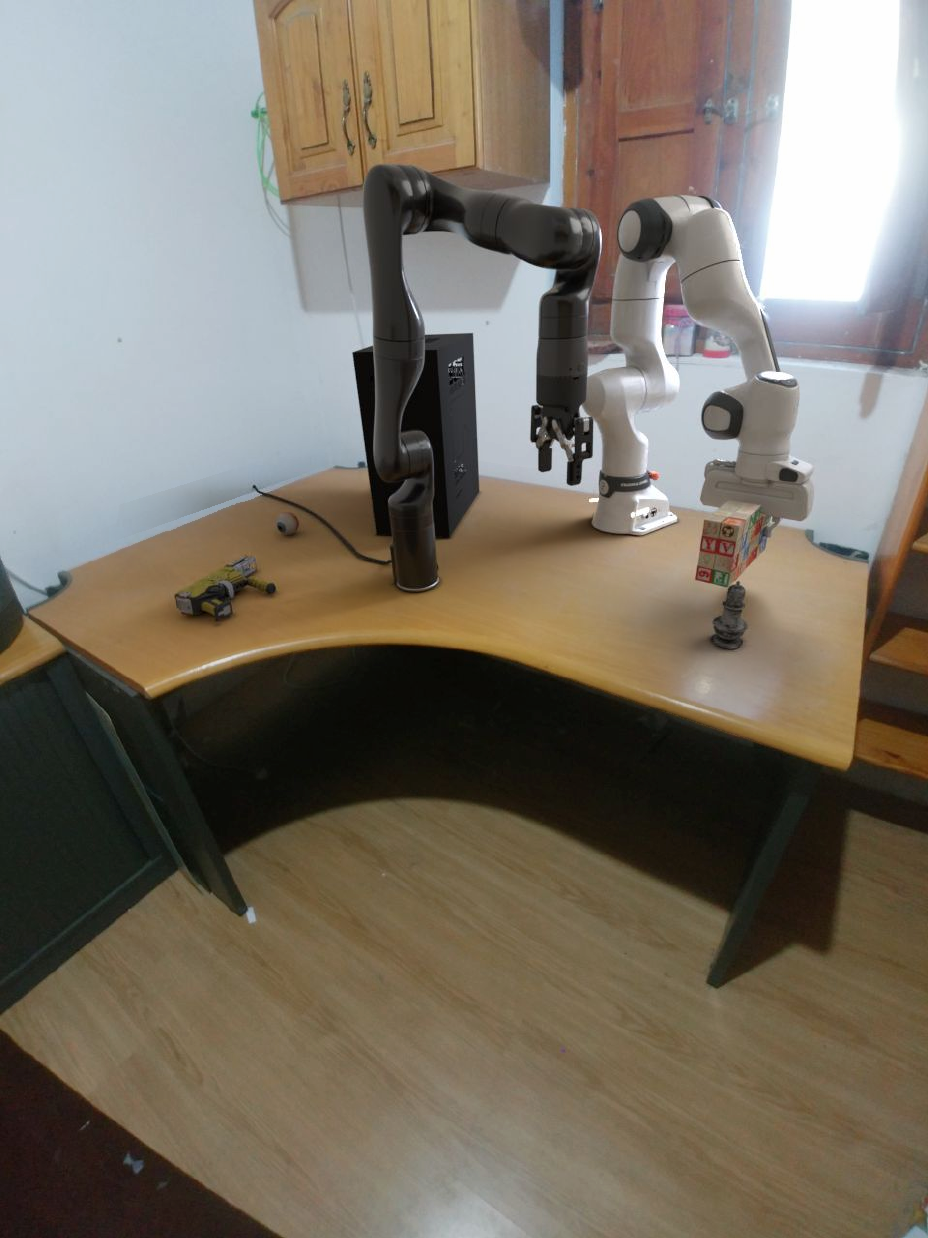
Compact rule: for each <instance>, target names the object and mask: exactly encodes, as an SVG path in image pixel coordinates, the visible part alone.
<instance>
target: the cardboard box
mask: <svg viewBox="0 0 928 1238" xmlns="http://www.w3.org/2000/svg"><path fill="white" fill-rule="evenodd" d="M351 354H352V361H353V367H354V376H355V384H356V391H357V399H358V406H359V407H358V408H359V415H360V421H361V428H362V436H363V444H364V452H365V458H366V459H365V461H366V466H367V474H368V481H369V489H370V496H371V503H372V504H371V505H372V511H373V518H374V519H373V520H374V527H375V535H376V536H392V533H391V525H390V516H389V508H388V500H389V498H390V496H391V495H392V494H394V493H395V492H396V491H397V490H398V489H399V488H400V487H401V486H402V485H403V483H404V482H405V480H403V481H399V482H395V483H387V482H385V481H383V480H382V479H381V478H380V476H379V475H378V472H377V470H376V466H375V462H374V451H373V444H374V424H375V369H374V355H373V345H370V346H367V347H364V348H361V349H358V350H355V351H352V352H351ZM475 371H476V370H475V346H474V333H473V332H462V333H434V334H433V333H432V334H425V360H424V366H423V370H422V373H421V375H420V378H419V380H418V382H417V384H416V386H415V388H414V390H413V392H412V394H411V396H410V398H409V400H408V402H407V404H406V406H405V409H404V412H403V416H402V422H401V432H403V431H407V430H412V429H418V430H421V431H422V432H424V433H425V434H426V436H427V437H428V439H429V441H430V444H431V447H432V452H433V464H434V498H433V501H432V506H433V518H434V530H435V538H446V539H447V538H448V539H450V538H451V536H452V535H453V533H454V532H455V530H456V528H457V527H458V525H459V524H460V523H461V521H462V520H463V518H464V516H465V514H466V513H467V512H468V510H469V508H470V507H471V505H472V504H473V502H474V501H475V499H476V498H477V496H478V494H479V493H480V474H479V471H480V470H479V450H478V449H479V445H478V424H477V423H478V422H477V421H478V419H477V398H476V397H477V396H476V374H475V373H476V372H475Z"/></svg>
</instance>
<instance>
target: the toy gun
mask: <svg viewBox="0 0 928 1238" xmlns="http://www.w3.org/2000/svg"><path fill="white" fill-rule="evenodd" d="M254 563H255V567H252V566H251V565H252V564H254ZM256 571H258V564H257V559H256V557H255V556H253V555H250V556H249V555H248V554H244V555H243V556H241V557H240V558H238V559H236V560H234V561H232V562H231V563H229V564H227V563H226V564H225V565H224V566H222V567H220V568H218V569H216V570H214V571H213V572H211V573H210V574H208V575H206V576H204V577H202V578H200V579H199V580H197V581H194V582H193V583H191V584H190V585H188V586H186V587H184V588H183V589H180V590H179V591H177V592H175V594H174V595H173V596H174V600H175V606H176V609H177V610H178V611H179V612H180V613H181V615H186V616H190V615H201V614H205V613H209V614H210V615H212V616H214V618H215V622H221V621H222V620H225V619H226V618H228V617H230V616H232V615H234V612H233V611H234V610H233V605H232V601H231V600H232V599H233V598H234V596H235V593H236V592H238V591H240V590H243V589H245V587H251V588H253V589H256V590H259V591H261V592H262V593H264V592H265V593H266V594H267V595H273V594H275V593H276V592H277V585H275V583H273V582H269V581H266V580H263V579H260V578H258V577H256V576H254V575H252V576H250V575H251V574H252V573H254V572H256ZM248 576H249V577H248ZM246 577H248V578H246Z"/></svg>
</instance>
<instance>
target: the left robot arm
mask: <svg viewBox="0 0 928 1238" xmlns="http://www.w3.org/2000/svg"><path fill="white" fill-rule="evenodd" d="M361 196H362V198H361V199H362V202H361V203H362V215H363V217H362V218H363V224H364V233H365V241H366V250H367V258H368V267H369V276H370V278H369V279H370V293H371V311H372V346H373V355H374V369H375V424H374V444H373V451H374V462H375V466H376V470H377V472H378V475H379V476H380V478H381V479H382V480H383V481H385V482H387V483H395V482H399V481H403V480H405V482H404V483H403V485H402V486H401V487H400V488H399V489H398V490H397V491H396V492H395V493H394V494H392V495H391V496H390V498H389V500H388V508H389V516H390V525H391V533H392V535H391V540H392V542H391V543H390V544H389V553H390V559H387V560H381V559H376V558H372V557H369V556H366V555H364V554H362V553H360V552H359V551H357V549H355V548H354V546H352V544H350V542H348V540H347V539H346V538H344V536H342V535H341V533H340V532H338V530H336V529H335V528H334V526H332V525H331V523H329V522H328V521H327V520H325V518H323V517H322V516H321V515H319V514H317V513H316V512H314V511H313V510H311V509H309V508H308V507H305V506H303V505H302V504H300V503H296V502H295V501H291V500H289V499H286V498H284V497H280V496H277V495H274V494H271V493H267V492H263V491H261V490H259V489H258V487H257V486H256V484H253V485H252V489H254V490H255V492H256V493H259V494H260V495H262V496H265V497H267V496H268V497H270V498H273V499H277V500H279V501H282V502H285V503H288V504H290V505H292V506H294V507H295V506H296V507H297V508H300V509H302V510H304V511H306V512H308V513H310V514H311V515H313V516H314V517H316V518H317V519H319V520H320V521H321V522H322V523H324V524H325V525H326V526H327V527H328V528H329V529H331V530H332V532H333V533H334V534H335V535H336V536H337V537H338V538H339V539H340V540H341V541H342V542H343V543H344V544H345V545H346V546H347V547H348V548H349V549H350V550H351V551H352V553H354V554H355V555H356V556H358V557H359V558H361V559H364V560H366V561H368V562H372V563H376V564H379V565H381V564H382V565H390V564H391V568H392V569H391V570H392V576H393V584H394V585H396V586H397V588H399V589H400V590H402V591H404V592H407V593H408V592H409V593H420V592H425V591H429V590H432V589H434V588H436V587H437V586H438V584H439V583H440V577H439V573H440V570H439V564H438V557H437V555H438V554H437V545H436V544H437V543H436V537H435V530H434V518H433V506H432V501H433V498H434V464H433V452H432V447H431V444H430V441H429V439H428V437H427V436H426V434H425V433H424V432H422V431H421V430H418V429H412V430H407V431H403V432H401V422H402V416H403V412H404V409H405V406H406V404H407V402H408V400H409V398H410V396H411V394H412V392H413V390H414V388H415V386H416V384H417V382H418V380H419V378H420V375H421V373H422V370H423V366H424V360H425V335H426V327H425V322H424V317H423V315H422V312H421V310H420V307H419V305H418V303H417V301H416V299H415V296H414V294H413V292H412V290H411V289H410V285H409V283H408V280H407V277H406V272H405V266H404V253H403V252H404V251H403V237H404V236H415V235H417V234H420V233H450V234H454V235H457V236H459V237H461V238H463V239H464V240H465V241H467V242H469V243H470V244H472V245H473V246H476V247H478V248H480V249H484V250H487V251H491V252H494V253H498V254H501V255H506V256H511V257H515V258H517V259H518V260H521V261H523V262H525V263H527V264H529V265H531V266H534V267H536V268H541V269H545V270H553V271H554V270H555V272H554V278H553V282H552V286H551V288H550V289H549V290H547V291H545V292H544V293H543V294H542V295H541V297H540V299H539V302H538V327H537V328H538V329H537V330H538V333H537V335H538V339H537V348H536V356H535V357H536V360H535V361H536V365H535V373H536V374H535V376H536V378H535V403H536V404H534V405H533V404H532V405H531V407H530V434H529V440H530V442H531V443H532V444H533V443H534V444H535V448H536V450H537V470H538V472H540V473H547V472H550V471H551V470H552V469H553V448H552V446H553V444H554V442H555V441H556V442H558V443H559V446H560V448H561V449H562V450H564V453H565V456H566V458H567V462H566V484H567V485H568V486H570V487H572V486H576V485H580V484H581V482H582V478H583V476H582V475H583V462H584V460H588V459H592V458H593V456H594V420H593V418H592V417H590V416H585V417H582V416H581V412H580V407H582V404H583V403H584V402H585V401H586V395H587V377H588V371H589V342H588V337H589V336H588V333H589V332H588V331H589V306H590V299H591V296H592V292H593V290H594V285H595V281H596V277H597V272H598V268H599V264H600V261H601V260H600V259H601V253H602V244H603V240H602V237H603V236H602V230H601V224H600V223H599V219H598V217H597V215H595V214H594V212H593V211H591V210H589V209H587V208H585V207H573V206H572V207H571V206H570V207H569V206H557V205H548V204H541V203H540V204H539V203H535V202H532V201H531V200H530V199H526V198H524V197H521V196H516V195H513V194H512V195H511V194H506V193H502V192H496V191H491V190H490V191H489V190H484V189H476V188H468V187H464V186H462V185H458V184H455V183H452V182H450V181H448V180H446V179H445V178H444V179H443V178H442V177H439V176H438V175H436V174H434V173H431V172H430V171H428V170H426V169H424V168H421V167H419V166H417V165H413V164H399V163H378V164H374V165H373V166H371V167H370V168H369V169H368V171H367V172H366V175H365V177H364V181H363V185H362V195H361ZM538 428H539V430H538ZM537 430H538V432H537ZM583 444H585V449H584V446H583ZM573 448H574V451H573Z"/></svg>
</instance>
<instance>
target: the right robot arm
mask: <svg viewBox="0 0 928 1238" xmlns="http://www.w3.org/2000/svg"><path fill="white" fill-rule="evenodd" d="M616 239H617V245H618V249H619V252H620V253H619V255H618V259H617V263H616V264H617V265H616V269H615V274H614V280H613V287H612V297H611V299H612V300H611V310H610V311H611V312H610V313H611V314H610V329H609V335H610V338H611V341H612V342H613V343H614V344H615V345H616V346H618V347H619V348H621V349H622V351H623V353H624V356H625V366H619V367H612V368H606V369H602V370H601V371H598V372H595V373H593V374H591V375H588V376H587V395H586V401H585V402H584V403H583V404H582V405H581V407H582V409H583V411H584V413H585V414H586V415H587V417H592V418H593V422H594V423H595V424H596V426H597V428H598V431H599V433H600V438H601V468H600V470H599V474H598V492H599V493H598V497H597V498H590V499H589V502H590V503H593V502H596V507H595V511H594V514H593V517H592V520H591V525H592V526H593V527H594V528H595V529H597V530H599V531H601V532H605V533H611V534H623V535H625V534H626V535H632V536H633V535H634V536H645V535H646V534H650V533H652V532H654V531H657V530H660V529H662V528H665V527H668V526H670V525H672V524H675V523H677V522H678V516H677V515H676V514H675V513H674V512H672V511H670V503H669V502H670V501H669V498H668V497H667V496H666V495H665V494H664V493H663V492H661V491H660V490H659V489H658V488H656V487H655V486H654V485H652V483H651V480H653V481H658V479H659V478H660V473H659V472H657V471H654V470H651V471H649V470H648V469H647V466H648V458H649V457H648V455H649V446H650V443H649V439H648V437H647V436H646V435H645V434H644V433H643V432H641V431H639V430H638V429H637V427H636V421H635V416H636V415H638V414H644V413H650V412H654V411H657V410H660V409H662V408H665V407H666V406H669V405H671V404H672V403H673V402H674V401H675V400H676V398H677V397H678V395H679V392H680V376H679V373H678V371H677V369H676V368H675V367H674V366H672V365H671V364H670V362H669V360H668V358H667V356H666V354H665V350H664V347H663V339H662V325H663V324H662V323H663V313H664V312H663V311H664V310H663V309H664V300H665V290H666V289H665V287H666V277H667V273H668V271H669V269H670V267H671V266H672V265H673V264H675V263H676V266H677V270H678V278H679V279H678V280H679V285H680V291H681V298H682V304H683V306H684V309H685V311H686V313H687V315H688V318H689V319H691V320H692V321H693V322H694V323H696V324H697V325H699V326H701V327H703V328H705V329H710V330H712V331H716V332H718V333H719V334H721V335H724V336H725V337H727V338H729V340H730V341H732V343H734V345H735V347H736V349H737V350H738V353H739V357H740V361H741V364H742V368H743V371H744V375H745V379H746V381H745V382H742V383H740V384H738V385H734V386H730V387H727V388H723V389H720V390H717V391H714V392H712V393H711V394H710V395H708V397H707V398H706V400H705V401H704V403H703V406H702V408H701V411H700V412H701V413H700V422H701V426H702V429H703V431H704V433H705V434H706V435H707V436H708V437H709V438H711V439H713V440H715V441H717V440H719V441H728V440H729V441H730V440H735V441H738V447H737V455H736V458H735V459H736V460H723V459H719V458H717V459H716V458H715V459H713V460H711V461H709V462H707V463H706V464H705V467H704V472H703V477H704V482H703V484H702V487H701V491H700V497H699V501H700V502H701V504H702V506H706V507H713V508H717V509H719V508H720V507H721V506H722V505H723V504H724V503H726V502H727V501H728V500H731V501H737V502H744V503H750V504H757V505H761V509H760V513H762V514H766V516H771V522H772V523H773V524H771V525H770V527H769V526H766V528H764V530H763V532H764V533H763V537H767V539H771V538H772V537H773V536H774V531H775V528H776V527H777V526H778V525H779V524H780V523H781V522H782V521H783V519H784V520H790V521H796V522H803V521H804V520H806V519H808V518H809V517H810V515H811V513H812V511H813V506H814V498H815V484H814V482H813V481H812V479H811V478H812V475H813V474H814V470H815V467H814V465H813V464H811V463H810V462H807V461H805V460H802V459H800V458H798V457H796V456H794V455H791V454H790V451H791V442H790V440H791V435H792V433H793V431H794V429H795V427H796V422H797V418H798V412H799V406H800V395H801V394H800V385H799V381H798V379H796V377H794V376H793V375H790V374H789V373H785V372H782V371H781V368H780V365H779V362H778V357H777V353H776V351H775V350H776V349H775V347H774V343H773V339H772V335H771V332H770V329H769V325H768V322H767V319H766V315H765V312H764V310H763V308H762V306H761V304H760V303H759V302H758V301H757V299H756V298H755V296H754V294H753V292H752V291H751V288H750V285H749V283H748V280H747V278H746V275H745V269H744V266H743V265H744V264H743V257H742V253H741V249H740V248H741V247H740V243H739V240H738V237H737V233H736V229H735V227H734V224H733V222H732V218H731V216H730V214H729V213H728V212H727V211H726V210H724V209H723V207H722V205H721V204H720V203H719V202H718V201H717V200H716V199H713V198H712V197H709V196H705V195H697V196H695V195H687V194H673V195H670V196H661V197H655V198H652V197H645V198H641V199H638V200H635V201H634V202H631V203H630V204H629V205H627V206H626V208H625V209H624V210H623V212H622V213H621V216H620V219H619V222H618V225H617V232H616Z"/></svg>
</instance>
